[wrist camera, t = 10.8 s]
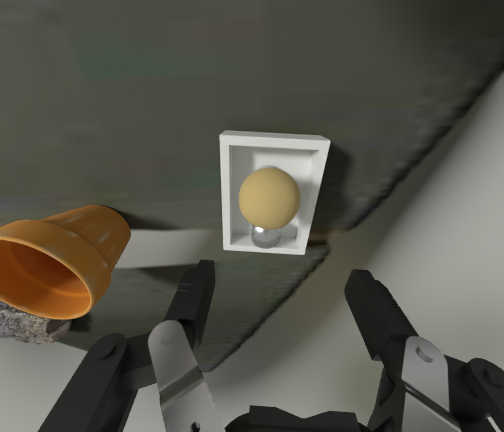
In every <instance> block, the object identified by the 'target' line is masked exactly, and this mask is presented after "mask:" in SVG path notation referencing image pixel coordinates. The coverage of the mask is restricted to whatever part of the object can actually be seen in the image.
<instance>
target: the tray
mask: <svg viewBox="0 0 504 432" xmlns="http://www.w3.org/2000/svg"><path fill="white" fill-rule="evenodd" d="M330 142H331V141H330V140H328V139H326V138H324V137H323V136H320V135H302V134H283V133H265V132H246V131H228V130H225V131H224V132H223V133H221V134H220V159H221V188H222V217H223V243H224V244H223V246H224V250H237V251H252V252H268V253H283V254H299V255H304V254H305V249H306V245H307V241H308V236H309V232H310V228H311V224H312V219H313V215H314V211H315V206H316V202H317V198H318V193H319V189H320V185H321V180H322V176H323V172H324V168H325V163H326V159H327V155H328V150H329V146H330ZM264 165H272V166H274V167H276V168H277V169H280V170H283V171H285V172H286V173H288V174H289V175H290V176H291V177H293V179H294V180H295V181H296V183H297V184H298V187H299V190H300V195H301V200H300V206H299V209H298V212H297V213H296V215H295V217H294V218H293V219H292V220H291V221H290V222H289V223H288V224H287V225H286V226H284V227H283V228H280V235H281V238H280V241H279V243H278V244H277V245H276V246H274V247H272V248H269V249H263V248H259V247H257V246H256V245H255V244H254V243H253V242H252V240H251V231H252V224H251V223H249V222H248V221H247V220H246V219H245V218H244V216H243V215H242V213H241V210H240V207H239V191H240V189H241V186H242V184H243V182H244V181H245V179H246V178H247V177H248V176H249V175H250V174H252V173H253V172H255V171H256V170H257V169H258V168H260V167H261V166H264Z"/></svg>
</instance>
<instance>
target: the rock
mask: <svg viewBox="0 0 504 432" xmlns="http://www.w3.org/2000/svg"><path fill="white" fill-rule="evenodd" d="M71 322H72V320H71V319H51V318H45V317H41V316H37V315H33V314H30V313H27V312H24V311H22V310H19V309H17V308H15V307H13V306H11V305H9V304H7V303H5V302H2V303H1V304H0V337H2V338H14V339H16V340H18V341H22V342H25V343H27V342H35V343H36V344H40V343H46V342H47V343H53V342H55V341H58V340H60V339H61V338H62V337H63V336H64V335H65V334H66V333H67V332H68V331H69V329H70V326H71Z"/></svg>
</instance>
